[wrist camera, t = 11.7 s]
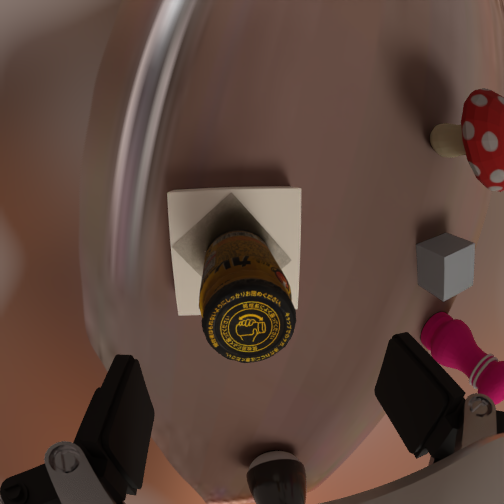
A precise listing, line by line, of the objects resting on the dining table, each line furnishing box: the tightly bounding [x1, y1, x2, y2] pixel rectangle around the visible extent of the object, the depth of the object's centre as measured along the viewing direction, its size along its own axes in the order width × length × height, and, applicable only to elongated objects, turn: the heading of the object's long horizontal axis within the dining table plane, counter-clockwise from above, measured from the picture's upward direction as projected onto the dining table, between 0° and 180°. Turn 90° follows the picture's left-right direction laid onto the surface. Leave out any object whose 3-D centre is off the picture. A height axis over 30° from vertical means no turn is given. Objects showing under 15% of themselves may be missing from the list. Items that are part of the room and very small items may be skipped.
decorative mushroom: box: [430, 88, 504, 192], centre depth 22 cm, size 11×11×15 cm
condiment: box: [172, 192, 296, 363], centre depth 21 cm, size 7×8×12 cm
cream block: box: [167, 186, 301, 315], centre depth 28 cm, size 12×12×4 cm
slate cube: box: [416, 233, 475, 302], centre depth 31 cm, size 6×6×6 cm
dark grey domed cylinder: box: [247, 451, 307, 504], centre depth 34 cm, size 10×10×15 cm
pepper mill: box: [421, 312, 504, 405], centre depth 28 cm, size 7×7×20 cm
